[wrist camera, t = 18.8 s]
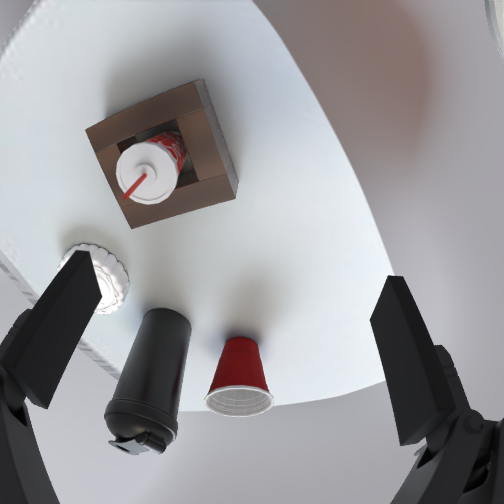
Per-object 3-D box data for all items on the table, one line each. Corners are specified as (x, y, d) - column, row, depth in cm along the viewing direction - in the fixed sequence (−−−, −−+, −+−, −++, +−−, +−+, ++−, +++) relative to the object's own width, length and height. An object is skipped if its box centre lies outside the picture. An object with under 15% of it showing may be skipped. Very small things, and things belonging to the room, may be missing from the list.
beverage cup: (203, 163, 36) (173, 219, 24) (158, 179, 37) (112, 239, 25) (184, 116, 32) (141, 148, 21) (138, 135, 33) (80, 177, 22)
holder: (104, 120, 32) (84, 129, 28) (203, 78, 30) (193, 81, 26) (144, 210, 39) (131, 229, 35) (238, 181, 37) (235, 199, 33)
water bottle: (127, 316, 50) (83, 433, 31) (170, 296, 47) (129, 431, 28) (165, 350, 55) (138, 462, 36) (208, 334, 52) (188, 461, 33)
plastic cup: (252, 370, 58) (250, 425, 48) (201, 351, 55) (192, 408, 45) (285, 341, 52) (289, 401, 42) (230, 317, 49) (223, 380, 39)
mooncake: (139, 266, 44) (132, 282, 41) (119, 312, 50) (112, 327, 47) (72, 229, 41) (60, 242, 38) (60, 280, 47) (51, 294, 44)
